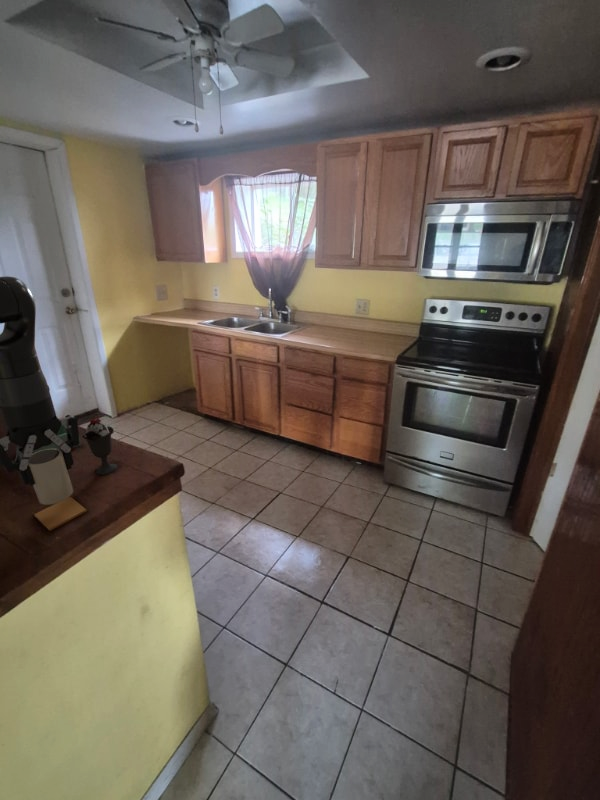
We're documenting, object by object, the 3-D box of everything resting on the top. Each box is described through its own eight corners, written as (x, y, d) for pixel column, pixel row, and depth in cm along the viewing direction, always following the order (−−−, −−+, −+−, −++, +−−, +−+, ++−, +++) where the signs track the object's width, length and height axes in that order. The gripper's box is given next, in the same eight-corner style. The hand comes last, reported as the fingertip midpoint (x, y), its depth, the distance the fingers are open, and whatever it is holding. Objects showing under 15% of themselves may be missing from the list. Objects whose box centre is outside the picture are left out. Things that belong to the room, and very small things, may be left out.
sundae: (111, 458, 95) (99, 405, 89) (126, 467, 91) (114, 412, 85) (85, 470, 90) (70, 414, 84) (100, 480, 86) (85, 422, 80)
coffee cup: (46, 509, 70) (32, 468, 66) (33, 497, 73) (19, 457, 70) (78, 493, 74) (67, 454, 71) (65, 482, 78) (53, 444, 74)
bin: (42, 461, 93) (37, 444, 91) (27, 449, 98) (21, 432, 96) (82, 446, 100) (77, 429, 98) (65, 435, 105) (61, 419, 103)
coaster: (49, 531, 71) (49, 529, 71) (34, 516, 75) (33, 514, 75) (86, 511, 76) (86, 509, 76) (70, 498, 80) (70, 496, 80)
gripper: (58, 380, 73) (78, 453, 79) (-34, 404, 62) (-2, 486, 69) (77, 388, 69) (96, 465, 75) (-19, 416, 58) (14, 502, 65)
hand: (49, 475), depth 72 cm, fingers closed on coffee cup, 6 cm apart
